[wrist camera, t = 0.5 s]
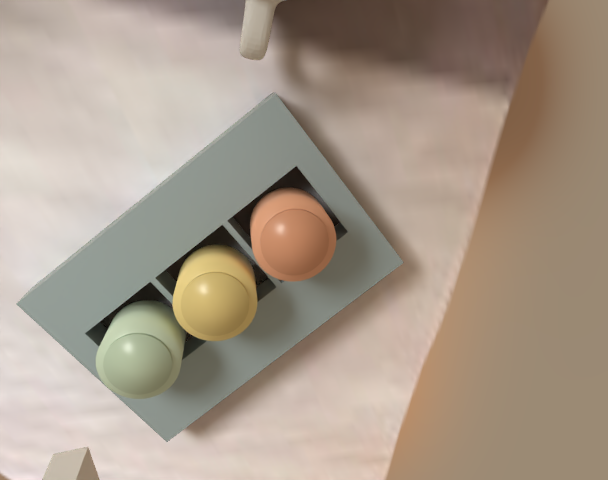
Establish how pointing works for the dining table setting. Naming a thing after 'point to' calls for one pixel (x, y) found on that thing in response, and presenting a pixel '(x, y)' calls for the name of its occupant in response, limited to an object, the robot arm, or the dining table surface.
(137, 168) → the dining table surface
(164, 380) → the button sage
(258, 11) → the cup
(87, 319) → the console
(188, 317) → the button ochre
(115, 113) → the dining table surface
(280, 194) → the button terracotta
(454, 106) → the dining table surface
